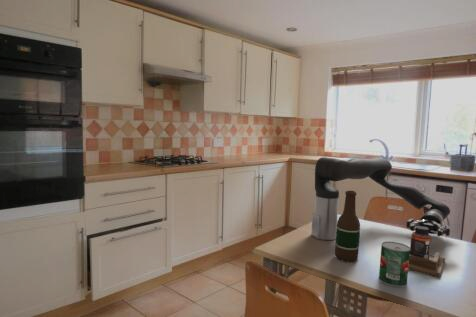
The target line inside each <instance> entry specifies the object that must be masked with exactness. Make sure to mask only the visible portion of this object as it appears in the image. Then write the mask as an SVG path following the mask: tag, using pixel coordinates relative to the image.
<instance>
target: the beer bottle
mask: <svg viewBox="0 0 476 317" xmlns="http://www.w3.org/2000/svg"><path fill="white" fill-rule="evenodd" d="M344 194H345V200H344V207H343V212H342V214H340V216H339V217H338V218H337V229H336V238H335V247H334V256H335V258H336V259H337V260H339V261H342V262H345V263H355V262H356V261H357V260H358V259H359V249H360V248H359V247H360V237H361V236H360V235H361V222H360V220H359V217H358V216H357V214H356V213H357V212H356V197H357V192H356V191H354V190H346V191H345V193H344Z"/></svg>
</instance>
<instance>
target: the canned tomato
mask: <svg viewBox="0 0 476 317" xmlns="http://www.w3.org/2000/svg"><path fill="white" fill-rule="evenodd" d="M380 249H381V250H380V260H379V270H378V271H379V273H378V280H379V281H380V282H381V283H383V284H385V285H387V286H391V287H396V288H403V287H406V286H407V285H408V276H409V275H408V274H409V270H408V267H409V256H410V246H408V245H407V244H405V243H401V242H397V241H383V242H382V243H381V248H380Z"/></svg>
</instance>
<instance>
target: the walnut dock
mask: <svg viewBox="0 0 476 317" xmlns="http://www.w3.org/2000/svg"><path fill="white" fill-rule="evenodd" d="M445 263H446V257H441V253H440V252H437V251H436V253H435V254H433V255H432V254H430V255H429V259H426V258H422V257H418V256H414V255H410V256H409V267H408V271H412V272H414V273H415V272H416V273H419V274H423V275H427V276H430V277H435V278H438V279H440V277H441V273H442V270H443V268H444V265H445Z"/></svg>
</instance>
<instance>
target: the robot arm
mask: <svg viewBox="0 0 476 317" xmlns="http://www.w3.org/2000/svg"><path fill="white" fill-rule="evenodd" d="M392 168H393V166H392V164H391V162H390V161H389V160H388V159H385V158H382V157H373V158H372V157H371V158H352V159H348V160H344V159H343V160H342V159H339V158H334V157H333V158H332V157H322V156H321V157H319V158H318V159H317V160H316V163H315V168H314V191H315V202H314V205H315V206H314V212H312V219H311V235H312V236H313V237H314V238H315V239H317V240H323V241H332V240H336V230H337V222H338V215H339V213H338V212H339V199H340V191H339V189H337V188H335V187H334V186H333V185H332V184H331V183H330V182H340V181H344V180H349V179H350V180H363V179H366V178H369V179H371V180H372V181H373V182H375V183H376V184H379V185H380V186H382V187H383V188H385V189H387V190H389V191H390V192H392V193H394V194H396V195H397V196H399V197H400V198H401V199H403V200H405V201H406V202H408V203H409V204H410V205H411V206H413V208H416V209H417V210H421V209H422V208H424V207H425V206H429V205H430V207H429V209H428V210H427V211H426V212H425V213H424V214H423V215H422V216H421V217H420V219H419V220H415V219H414V218H412V217H411V218H409V219H408V220H407V221H406V227H405V228H408V229H409V230H410V231H411V232H415V231H416V230H415V227H416V226H423V227H427V228H428V229H429V232H428V233H429V234H437V237H441V236H442V237H443V235H445V236H449V237H450V233H451V225H450V224H446V225H444V221H445V219H446V218H447V217H448V216H449V215H450V214H451V209H450V207H449V206H448V205H446V204H445V203H444V202H440V201H437V200H435V199H433V198H430V197H429V196H427V195H425V193H423V192H422V191H420V190H418V189H417V188H415V187H414V186H411V185H407V184H399V183H396V182H395V183H394V182H391V181H389V180H387V179H386V177H387V176H388V175H389V173H391V170H392ZM443 225H444V226H443Z"/></svg>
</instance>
